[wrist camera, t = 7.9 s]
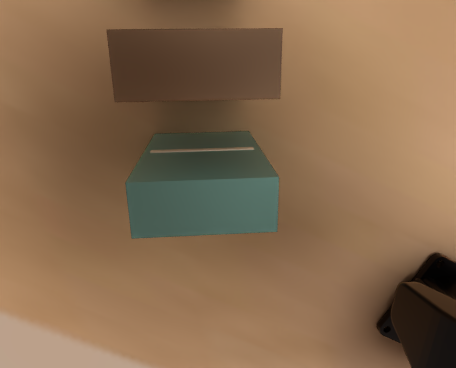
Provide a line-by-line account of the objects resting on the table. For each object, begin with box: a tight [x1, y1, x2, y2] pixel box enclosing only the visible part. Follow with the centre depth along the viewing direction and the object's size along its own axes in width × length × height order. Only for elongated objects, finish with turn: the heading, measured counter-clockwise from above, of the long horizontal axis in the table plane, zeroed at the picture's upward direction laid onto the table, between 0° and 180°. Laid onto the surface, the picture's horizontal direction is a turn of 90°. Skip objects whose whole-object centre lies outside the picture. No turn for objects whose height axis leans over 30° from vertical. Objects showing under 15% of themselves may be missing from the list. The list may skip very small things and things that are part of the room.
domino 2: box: [125, 131, 279, 238], centre depth 16 cm, size 2×5×8 cm, turn 91°
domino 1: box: [107, 28, 283, 102], centre depth 14 cm, size 2×5×8 cm, turn 91°
